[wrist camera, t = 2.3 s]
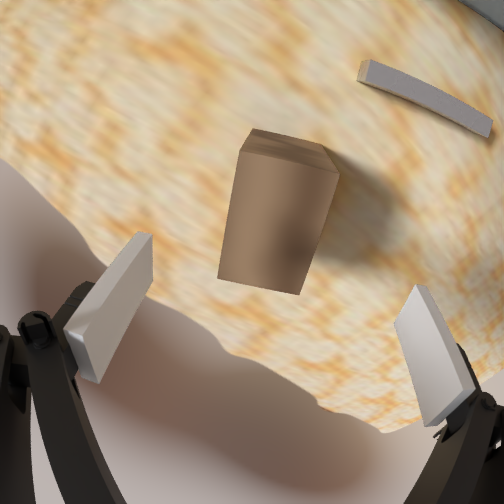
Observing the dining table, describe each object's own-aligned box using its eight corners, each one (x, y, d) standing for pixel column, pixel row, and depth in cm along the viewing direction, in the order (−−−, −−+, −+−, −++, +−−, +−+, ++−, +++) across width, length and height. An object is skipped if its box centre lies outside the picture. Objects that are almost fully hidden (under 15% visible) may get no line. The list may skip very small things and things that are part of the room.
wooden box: (232, 230, 33) (215, 288, 24) (252, 128, 27) (239, 150, 18) (292, 243, 33) (295, 304, 24) (320, 144, 27) (340, 174, 18)
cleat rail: (356, 80, 23) (365, 80, 21) (361, 61, 22) (370, 59, 20) (472, 131, 24) (488, 138, 21) (477, 115, 23) (493, 120, 20)
